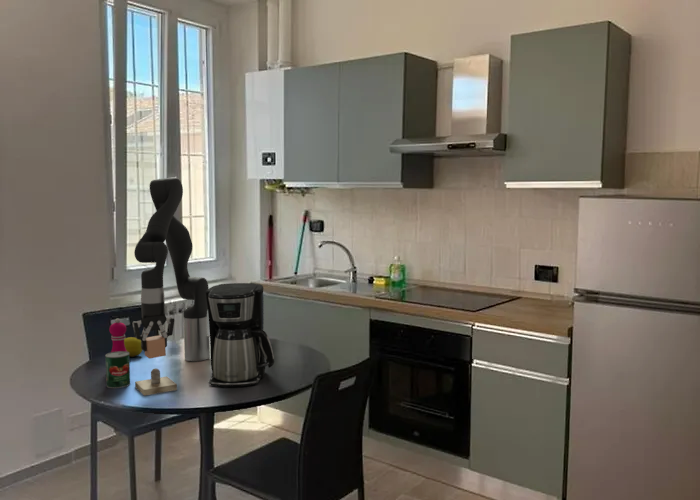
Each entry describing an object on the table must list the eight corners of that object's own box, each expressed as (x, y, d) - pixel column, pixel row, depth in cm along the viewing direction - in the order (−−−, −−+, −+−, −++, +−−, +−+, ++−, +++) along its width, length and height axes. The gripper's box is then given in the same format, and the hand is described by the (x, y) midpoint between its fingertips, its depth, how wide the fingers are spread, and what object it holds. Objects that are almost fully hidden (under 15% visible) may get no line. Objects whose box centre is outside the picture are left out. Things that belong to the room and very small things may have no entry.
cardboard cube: (165, 355, 213) (164, 338, 212) (149, 358, 210) (147, 341, 209) (161, 352, 217) (160, 335, 217) (144, 355, 214) (143, 338, 214)
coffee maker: (212, 392, 211) (210, 292, 208) (196, 368, 240) (193, 280, 237) (277, 383, 220) (276, 288, 217) (254, 361, 249) (252, 277, 246)
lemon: (147, 354, 261) (147, 335, 260) (139, 359, 253) (138, 339, 253) (123, 353, 262) (122, 334, 262) (113, 358, 255) (113, 339, 254)
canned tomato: (116, 389, 214) (115, 358, 213) (101, 386, 218) (100, 355, 217) (135, 383, 221) (134, 353, 220) (120, 380, 225) (119, 350, 224)
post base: (167, 381, 222) (166, 362, 222) (177, 389, 213) (176, 369, 213) (135, 387, 216) (134, 367, 216) (144, 395, 207) (143, 375, 207)
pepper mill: (122, 373, 233) (120, 320, 231) (105, 372, 234) (103, 320, 232) (133, 368, 240) (131, 316, 238) (116, 367, 241) (114, 316, 240)
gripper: (134, 304, 205) (135, 355, 207) (177, 300, 213) (178, 349, 214) (128, 301, 211) (129, 350, 213) (170, 297, 219) (171, 344, 221)
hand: (154, 349), depth 214 cm, fingers closed on cardboard cube, 5 cm apart
